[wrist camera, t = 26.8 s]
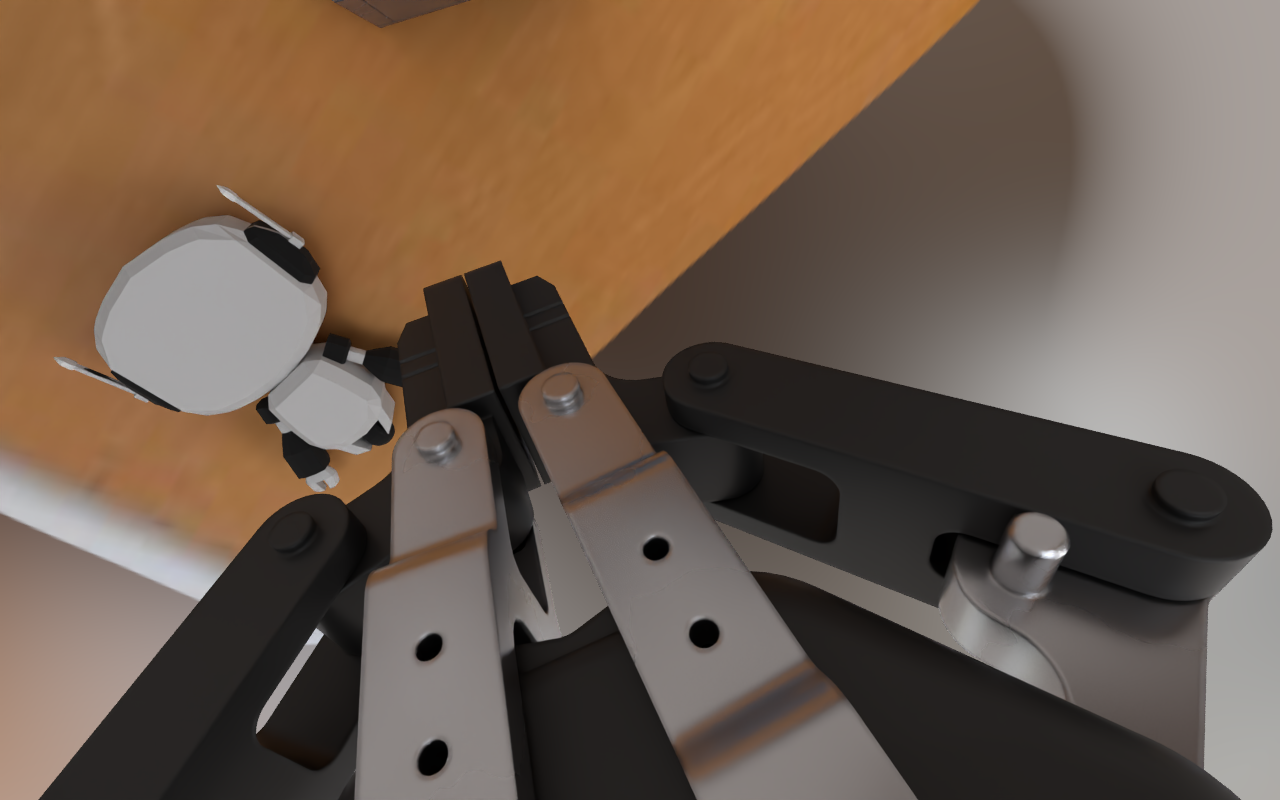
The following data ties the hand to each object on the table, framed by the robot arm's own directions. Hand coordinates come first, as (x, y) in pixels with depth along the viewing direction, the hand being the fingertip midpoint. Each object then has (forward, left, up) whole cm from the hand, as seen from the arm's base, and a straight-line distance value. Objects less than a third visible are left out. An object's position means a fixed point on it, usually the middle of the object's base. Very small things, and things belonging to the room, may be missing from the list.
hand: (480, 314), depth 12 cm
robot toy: (-12, -9, -25) cm, 29 cm away
